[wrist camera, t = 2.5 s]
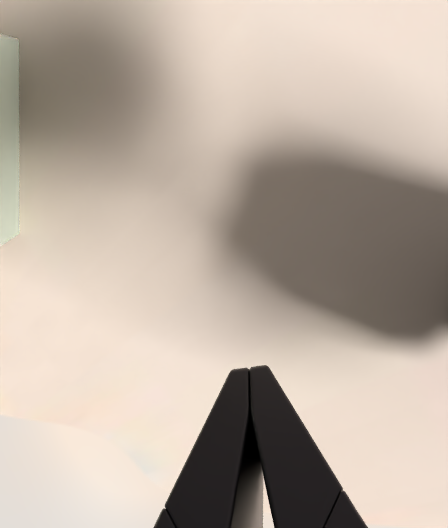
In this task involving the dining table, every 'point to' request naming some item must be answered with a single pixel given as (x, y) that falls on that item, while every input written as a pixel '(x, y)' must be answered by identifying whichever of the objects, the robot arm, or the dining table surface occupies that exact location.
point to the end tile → (9, 138)
